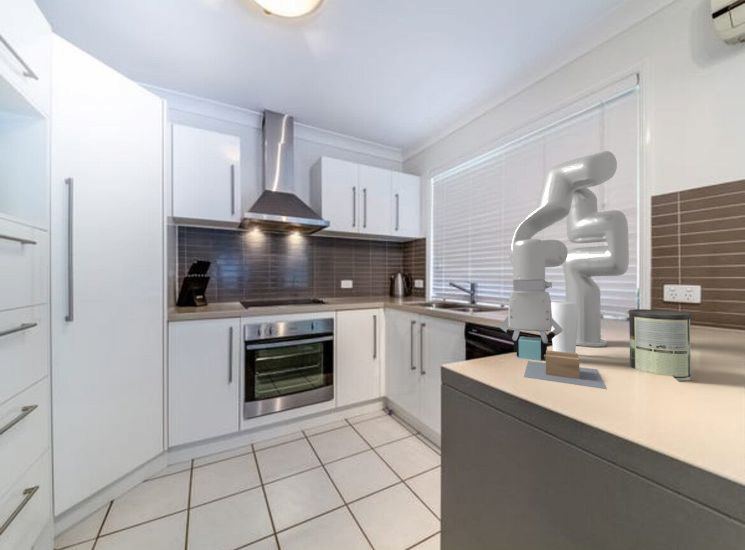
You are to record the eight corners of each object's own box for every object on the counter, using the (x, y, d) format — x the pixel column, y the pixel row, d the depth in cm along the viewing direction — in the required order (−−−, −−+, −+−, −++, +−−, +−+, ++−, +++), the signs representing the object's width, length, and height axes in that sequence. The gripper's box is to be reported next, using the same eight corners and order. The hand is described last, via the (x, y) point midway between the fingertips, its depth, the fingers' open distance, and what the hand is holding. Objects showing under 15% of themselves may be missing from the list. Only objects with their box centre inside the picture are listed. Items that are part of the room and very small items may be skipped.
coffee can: (618, 366, 75) (617, 309, 75) (664, 367, 74) (663, 309, 74) (652, 380, 64) (652, 314, 64) (706, 382, 63) (705, 314, 63)
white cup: (544, 355, 86) (543, 301, 86) (559, 352, 89) (559, 300, 89) (568, 360, 80) (568, 303, 80) (584, 357, 82) (583, 302, 83)
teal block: (520, 354, 83) (520, 336, 83) (541, 356, 81) (541, 338, 81) (518, 359, 79) (518, 340, 79) (540, 361, 76) (540, 342, 76)
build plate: (528, 364, 76) (528, 360, 76) (597, 373, 69) (597, 369, 69) (523, 381, 64) (523, 376, 64) (607, 394, 57) (606, 389, 57)
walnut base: (546, 367, 71) (546, 350, 71) (577, 371, 68) (577, 353, 68) (545, 374, 65) (545, 356, 66) (579, 379, 62) (579, 359, 62)
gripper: (566, 286, 79) (568, 356, 79) (496, 286, 87) (497, 349, 87) (568, 287, 72) (569, 364, 72) (492, 287, 81) (493, 355, 81)
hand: (530, 355), depth 80 cm, fingers closed on teal block, 5 cm apart
